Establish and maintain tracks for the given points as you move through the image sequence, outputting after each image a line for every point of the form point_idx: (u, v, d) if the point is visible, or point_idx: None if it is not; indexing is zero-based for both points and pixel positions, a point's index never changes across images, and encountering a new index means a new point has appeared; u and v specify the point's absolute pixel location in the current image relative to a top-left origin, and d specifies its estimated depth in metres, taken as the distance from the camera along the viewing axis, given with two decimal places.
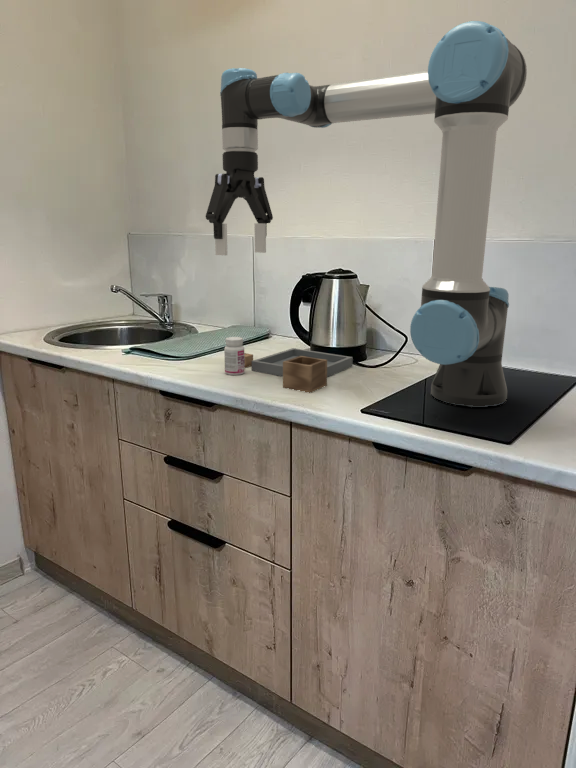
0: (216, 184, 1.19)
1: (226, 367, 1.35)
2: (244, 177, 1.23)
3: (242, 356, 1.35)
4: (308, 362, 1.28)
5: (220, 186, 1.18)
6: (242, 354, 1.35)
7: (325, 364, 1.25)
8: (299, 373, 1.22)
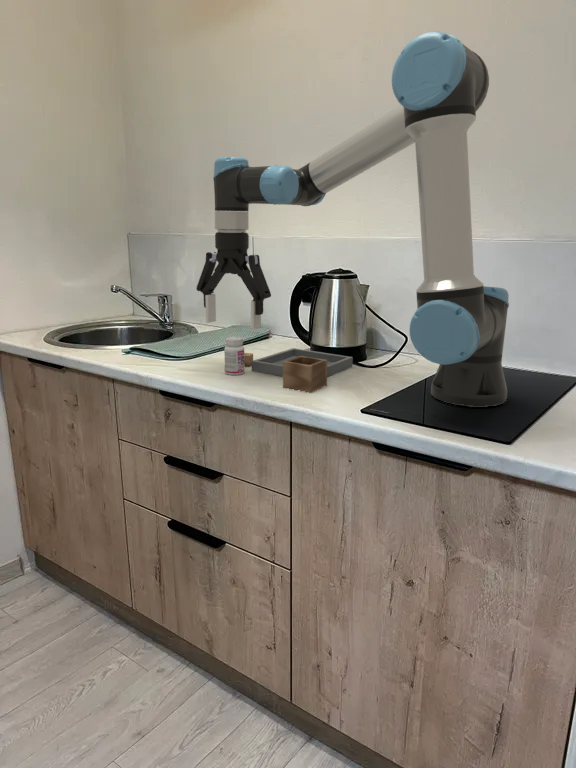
0: None
1: (226, 367, 1.35)
2: (228, 255, 1.29)
3: (242, 356, 1.35)
4: (308, 362, 1.28)
5: None
6: (242, 354, 1.35)
7: (325, 364, 1.25)
8: (300, 373, 1.22)
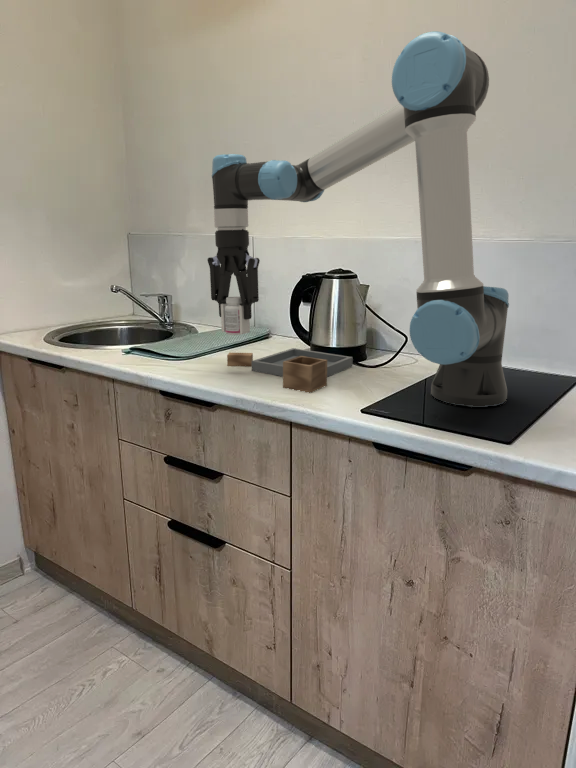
0: None
1: (227, 327, 1.32)
2: (229, 253, 1.29)
3: None
4: (308, 362, 1.28)
5: None
6: None
7: (325, 364, 1.25)
8: (300, 373, 1.22)
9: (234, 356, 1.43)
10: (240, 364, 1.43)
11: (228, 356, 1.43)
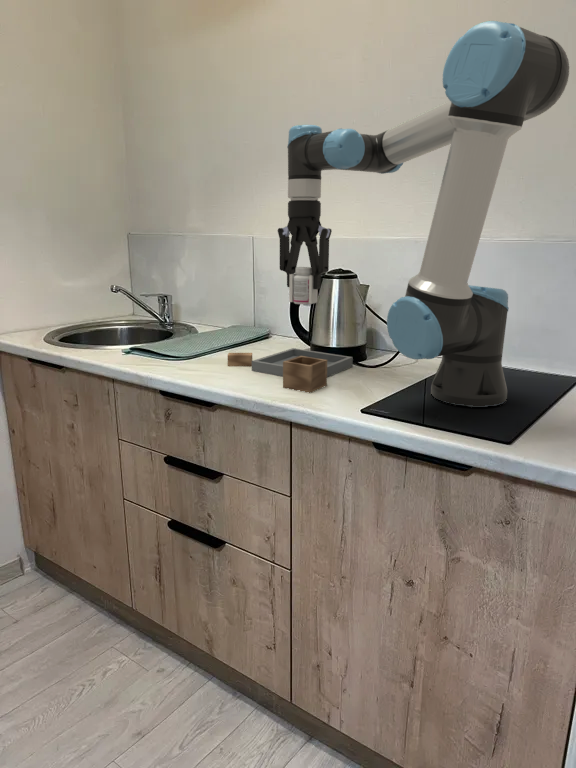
0: None
1: (296, 296, 1.35)
2: (301, 223, 1.31)
3: None
4: (308, 362, 1.28)
5: None
6: None
7: (325, 364, 1.25)
8: (300, 373, 1.22)
9: (234, 356, 1.43)
10: (241, 364, 1.44)
11: (228, 356, 1.43)
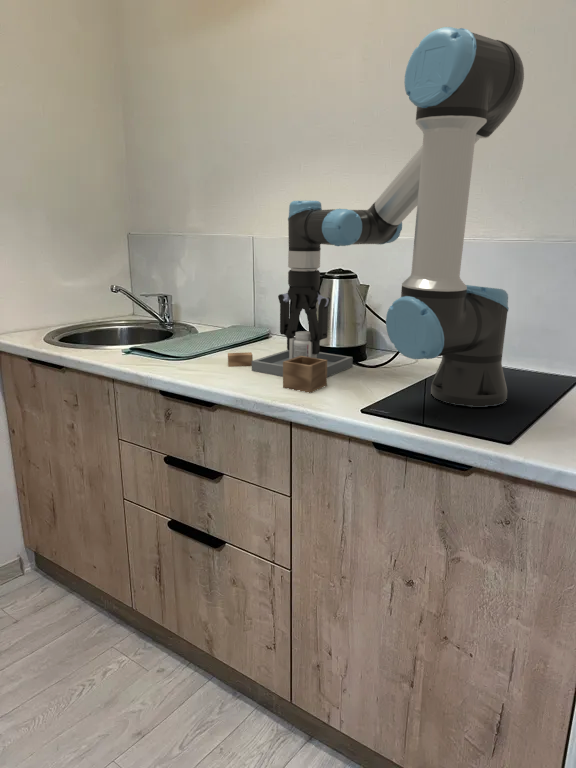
0: None
1: None
2: (301, 292, 1.36)
3: None
4: (308, 362, 1.28)
5: None
6: None
7: (325, 364, 1.25)
8: (300, 373, 1.22)
9: (235, 356, 1.43)
10: (241, 364, 1.44)
11: (229, 357, 1.43)
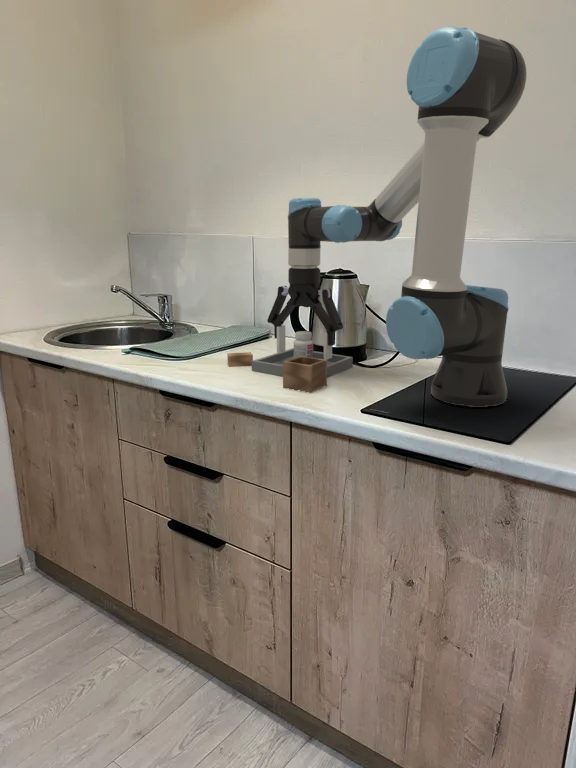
0: None
1: None
2: (301, 289, 1.35)
3: (311, 349, 1.39)
4: (308, 362, 1.28)
5: None
6: (311, 348, 1.39)
7: (325, 364, 1.25)
8: (300, 373, 1.22)
9: (236, 356, 1.43)
10: (242, 364, 1.44)
11: (230, 357, 1.42)
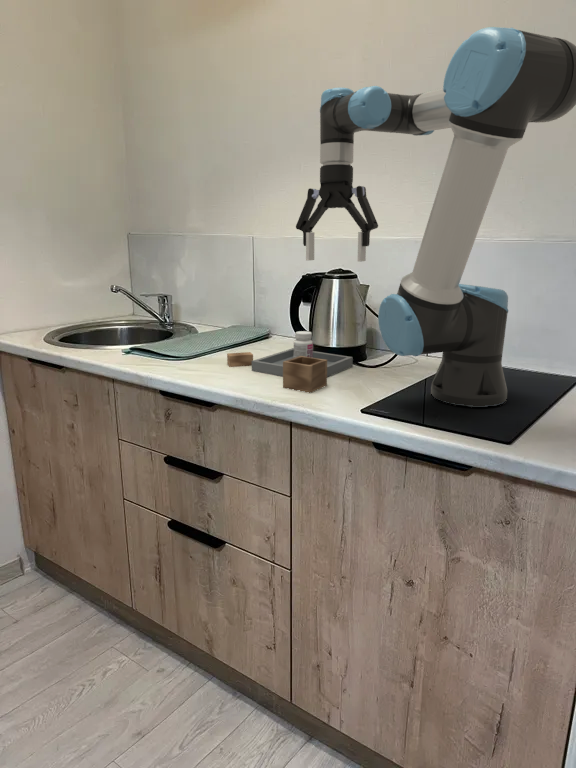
0: None
1: None
2: (334, 189, 1.30)
3: (311, 349, 1.39)
4: (308, 362, 1.28)
5: None
6: (311, 348, 1.39)
7: (325, 364, 1.25)
8: (299, 373, 1.22)
9: (236, 356, 1.43)
10: (242, 364, 1.44)
11: (230, 357, 1.42)
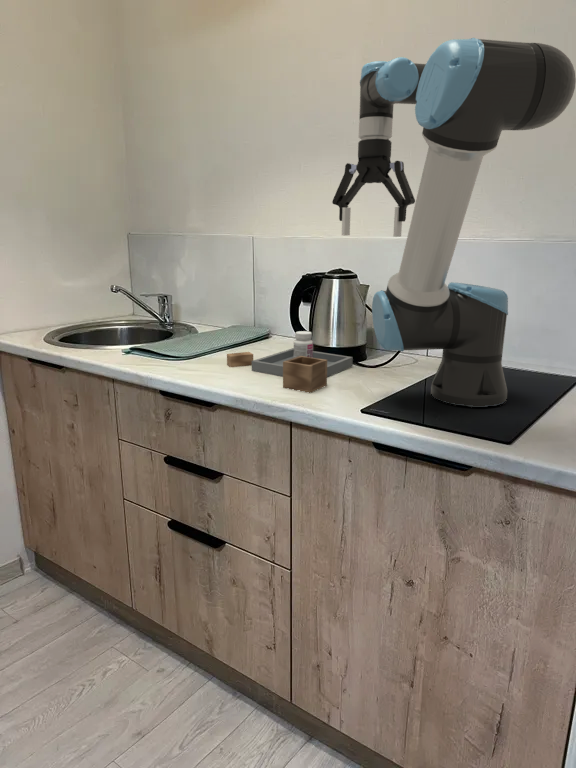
0: None
1: None
2: (371, 163, 1.31)
3: (311, 349, 1.39)
4: (308, 362, 1.28)
5: None
6: (311, 348, 1.39)
7: (325, 364, 1.25)
8: (300, 373, 1.22)
9: (237, 356, 1.43)
10: (243, 364, 1.44)
11: (231, 357, 1.42)
